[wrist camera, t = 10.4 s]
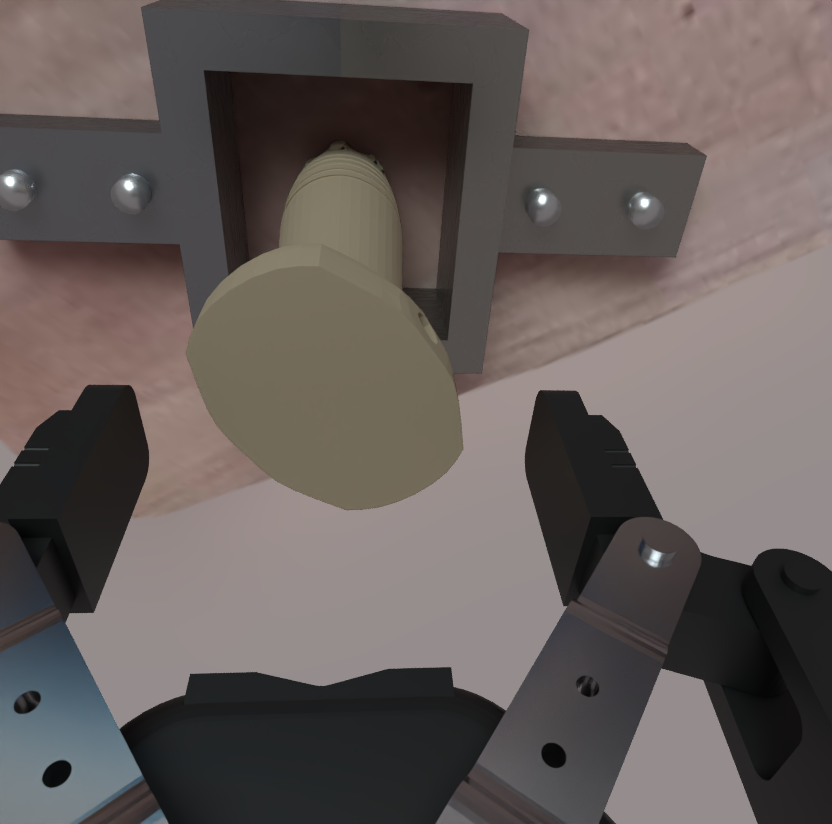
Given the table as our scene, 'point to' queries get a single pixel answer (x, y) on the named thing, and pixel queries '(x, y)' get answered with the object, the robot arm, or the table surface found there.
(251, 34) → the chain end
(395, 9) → the bracket
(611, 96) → the table surface
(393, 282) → the handle
